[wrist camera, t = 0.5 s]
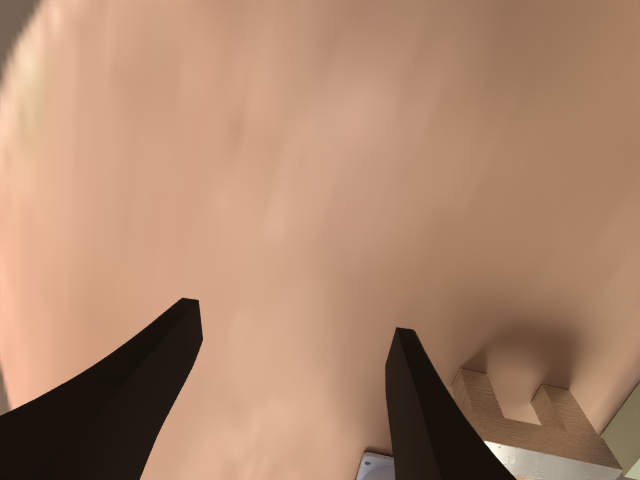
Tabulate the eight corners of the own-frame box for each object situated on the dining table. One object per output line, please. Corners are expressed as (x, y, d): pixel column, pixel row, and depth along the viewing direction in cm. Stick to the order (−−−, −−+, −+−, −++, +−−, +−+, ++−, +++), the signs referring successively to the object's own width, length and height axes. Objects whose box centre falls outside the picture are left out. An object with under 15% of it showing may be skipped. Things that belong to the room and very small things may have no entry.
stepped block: (556, 410, 27) (603, 494, 22) (450, 389, 27) (470, 466, 22) (570, 387, 26) (623, 470, 21) (460, 366, 26) (483, 440, 21)
